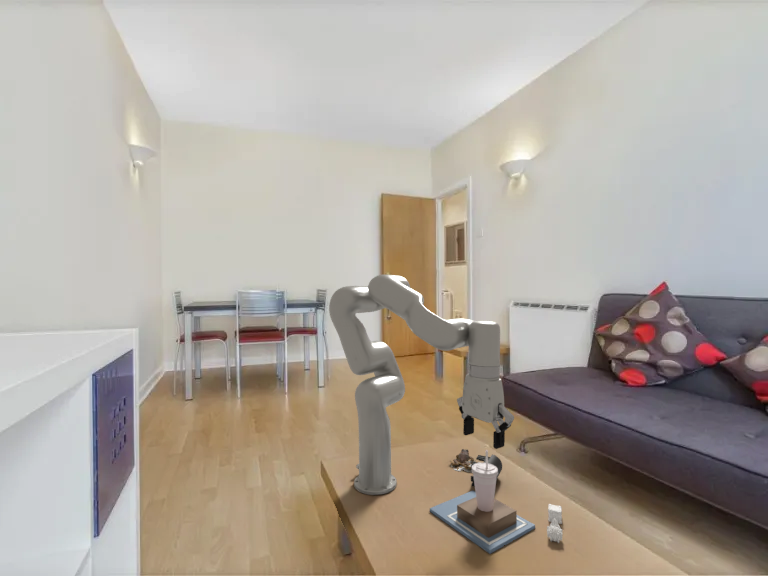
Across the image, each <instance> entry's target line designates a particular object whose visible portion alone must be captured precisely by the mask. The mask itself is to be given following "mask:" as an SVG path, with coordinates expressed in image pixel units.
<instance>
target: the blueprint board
mask: <svg viewBox="0 0 768 576" xmlns="http://www.w3.org/2000/svg"><path fill="white" fill-rule="evenodd" d="M475 497H476V491H475V490H470V491H468V492H465V493H463V494H461V495H458V496H456V497H454V498H451V499H449V500H446V501H443V502H441V503H439V504H437V505H434V506H432V507H430V508H429V512H430V513H432V514H433V515H434V516H435V517H437V518H438V519H440V520H441V521H442V522H444V523H446V524H447V525H448V526H450V527H451V528H453V529H454V530H455V531H457V532H458V533H459V534H461V535H462V536H464V537H465V538H467V539H468V540H470V541H471V542H472V543H473V544H475V545H476V546H478V547H480V548H481V549H482V550H484V551H485V552H486V553H488V554H490V555H491V554H492V553H494V552H496V551H497V550H500V549H501V548H503V547H505V546H507V545H509V544H510V543H512V542H513V540H514V541H515V540H517V539H519V538H520V537H522V536H524V535H527V534H528V533H530V532H531V531H533V530H534V529H536V524H535V523H533V522H531V521H528V520H527V519H525V518H523V517H521V516H520V515H518V514H517V523H516V524H514V525H512V526H510V527H508V528H506V529H505V530H503V531H501V532H499V533H497V534H495V535H493V536H491V537H489V538H488V537H486V536H485V535H483V534H482V533H480V532H479V531H477V530H476V529H474V528H473V527H471V526H470V525H468V524H467V523H465V522H464V521H462V520H461V519H459V518H458V517H457V505H459V504H461V503H463V502H466V501H468V500H470V499H472V498H475ZM504 545H505V546H504Z"/></svg>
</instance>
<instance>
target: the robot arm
mask: <svg viewBox="0 0 768 576" xmlns="http://www.w3.org/2000/svg"><path fill="white" fill-rule="evenodd" d="M424 304H425V298H424V296H423V294H421V293H420V292H418V291H417V290H414V289H413V288H412V287H411V285H410V283H409V281H408V279H406V278H405V277H403V276H401V275H398V274H378V275H376V276H374V277H373V278H371V280H370V281H369V282H368V285H366V286H364V285H347V286H342V287H340V288H338V289H336V290H335V291H334V292H333V294H332V295H331V297H330V301H329V307H328V311H329V316H330V320H331V322H332V324H333V326H334V329H335V330H336V333H337V334H338V337H339V341H340V344H341V347H342V350H343V352H344V355H345V358H346V360H347V364H348V366H349V368H350V370H351V372H352V373H353V374H354V375H355V376H365V375H370V374H374V376H372V377H369V378H366V379H364V380H362V381H361V382H360V383H359V384H358V385H357V387H356V388H355V391H354V392H355V393H354V400H355V401H354V402H355V405H356V410H357V418H358V463H357V464H356V466H355V467H356V469H357V470H358V475H357V476H356V477H355V479H353V480H354V481H353V487H354V488H355V490H357V491H358V492H359V493H362V494H364V495H371V496H377V495H378V496H379V495H385V494H388V493H390V492H392V491H393V490H395V488H396V487H397V485H398V484H397V478H396V477H395V476H394V475H393V474H392V449H391V448H392V443H391V441H392V437H391V436H392V435H391V432H392V430H391V429H392V428H391V420H390V416H389V414H388V412H387V407H389V406H391V405H394V404H396V403H398V402H400V401H401V400H402V399H403V397H404V395H405V392H406V385H405V380H404V377H403V375H402V372H401V370H400V366H399V364H398V362H397V360H396V356H395V354H394V352H393V350H392V348H391V347H390V346H389V344H387V343H386V342H384V341H381V340H373V341H371V340H370V337H369V335H368V333H367V329H366V328H365V326H364V324H363V323H362V322H361V320H360V319H359V318H358V317H357V315H356V314H364V313H374V312H377V311H380V310H383V309H387V310H389V311H390V312H392V313H393V314H395V315H396V316H398V317H400V318H401V319H402V320H404V321H405V323H406V325H407V326H408V328H409V329H410V330H411V332H412V333H413V334H414V335H415V336H417V337H418V338H419V339H420V340H422V341H424V342H425V343H427V344H428V345H430V346H431V347H433V348H435V349H437V350H440V351H446V352H447V351H448V352H449V351H452V350H455V349H460V348H464V347H468V363H466V368H467V369H468V370H467V371H468V373H467V374H465V378H464V382H463V387H462V396H461V397H457V398H456V401H457V402H456V403H457V405H458V410H459V412H460V414H461V419H463V428H462V429H463V430H462V431H463V436H469V435H472V434H474V433H475V419H477V420H480V421H482V422H485V423H491V424H492V426H493V428H494V430H495V431H493V434H492V435H493V438H492V439H493V444H492V445H493V449H495V450H498V449H501V448H504V447H505V442H506V441H505V438H506V437H505V436H506V435H505V434H506V433H505V432H506V431H508V429H509V428H510V427H511V426H512V424H513V421H514V420H515V416H514V415H513V414H512V413H511V411H510V410H508V408H506V407H505V396H504V395H505V394H504V393H505V392H504V385H503V382H502V381H503V380H502V379H501V378H500V376H501V375H500V373H501V372H500V370H501V369H500V368H501V367H500V366H501V365H500V364H501V327H500V324H499V323H498V322H497V321H490V320H477V321H476V320H473V319H468V318H462V317H461V318H459V317H458V318H457V317H456V318H450V319H444V318H442V317H440V316H438V315H437V314H435V313H434V312H432V311H430V310H429V309H428V308H427V307H425V305H424Z"/></svg>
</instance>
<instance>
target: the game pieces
mask: <svg viewBox="0 0 768 576" xmlns="http://www.w3.org/2000/svg"><path fill="white" fill-rule="evenodd" d="M547 507H548V508H547V512H548V513H547V514H548V519H547V521H548V522H550V524H549V525H547V526H546V535H547V536H546V537H547V538H548V539H549V540H550V542H551V543H552V542H557V544H560V541H561V542H562V541H563V535H564V534H563V528H561V526H560V525H562V524H563V520H562V519H563V516H562V514H563V512H562V506H561V505H555V504H551V503H548V506H547Z"/></svg>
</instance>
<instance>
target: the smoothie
mask: <svg viewBox="0 0 768 576" xmlns="http://www.w3.org/2000/svg"><path fill="white" fill-rule="evenodd" d="M485 456H486V463H483V462H480V463H476V464H474V465H472V470H471V471H472V472H471V473H472V476H473V477H474V484H475V487H474V489H475V490H474V491H475V492H476V499H477V506H478V509H479V510H481V511H485V512H489V511H492V510H493V504H494V499H495V494H496V484H497V480H496V477H497V475H498V468H497V467H496V466H494V465H492V464H489V463H488V457H489V450H488V449H486V450H485Z"/></svg>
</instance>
